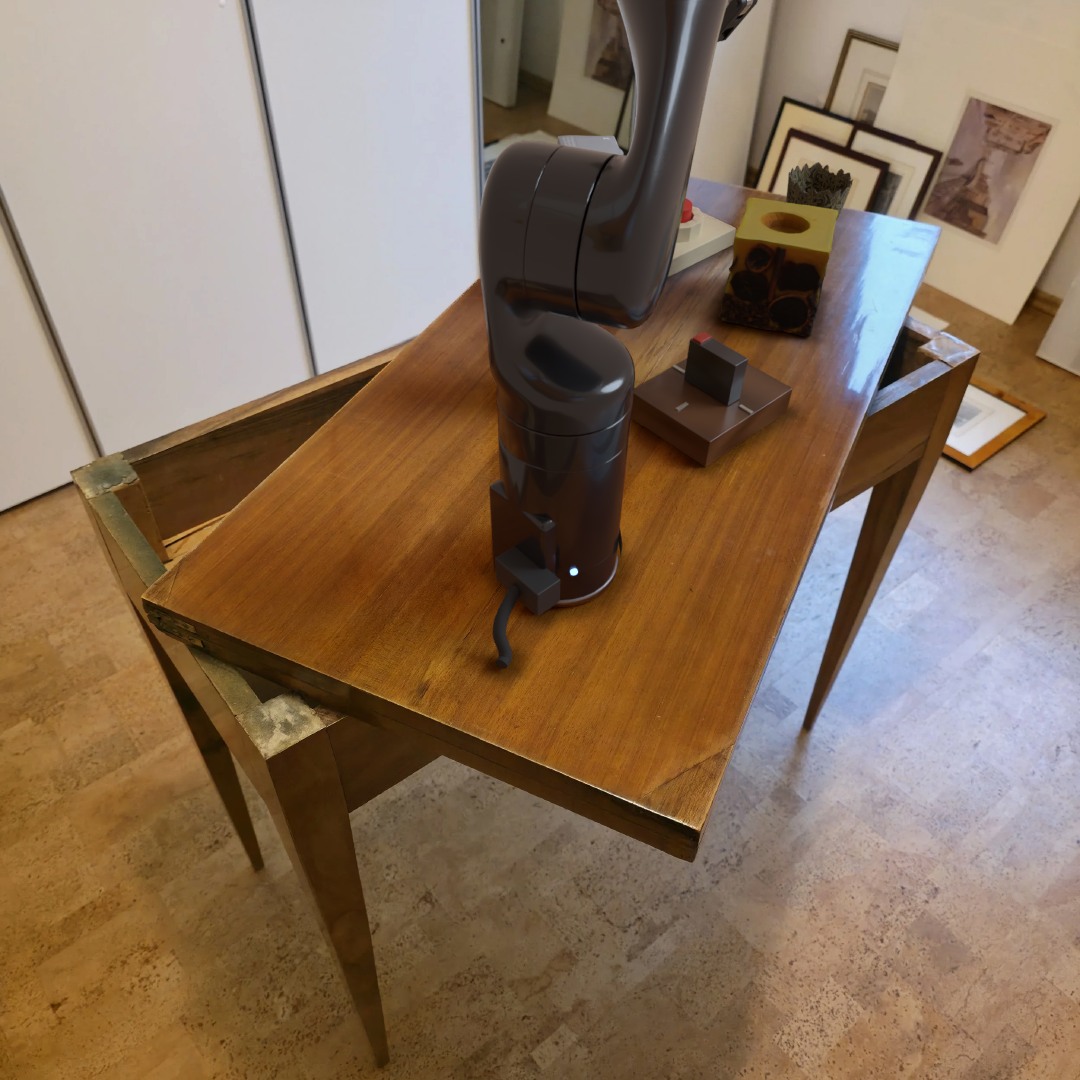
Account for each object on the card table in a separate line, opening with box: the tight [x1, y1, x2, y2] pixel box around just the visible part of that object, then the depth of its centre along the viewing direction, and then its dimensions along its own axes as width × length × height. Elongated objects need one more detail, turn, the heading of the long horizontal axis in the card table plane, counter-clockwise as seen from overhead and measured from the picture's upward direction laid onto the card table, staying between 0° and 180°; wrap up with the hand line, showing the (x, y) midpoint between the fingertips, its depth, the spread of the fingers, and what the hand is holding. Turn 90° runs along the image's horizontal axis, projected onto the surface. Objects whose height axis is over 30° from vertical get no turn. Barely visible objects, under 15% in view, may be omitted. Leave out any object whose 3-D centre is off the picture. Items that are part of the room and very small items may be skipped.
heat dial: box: [684, 331, 749, 406], centre depth 81 cm, size 6×2×5 cm, turn 41°
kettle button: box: [681, 197, 694, 223], centre depth 105 cm, size 4×4×2 cm
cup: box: [785, 161, 854, 222], centre depth 106 cm, size 8×7×8 cm
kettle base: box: [668, 205, 737, 278], centre depth 107 cm, size 12×10×4 cm
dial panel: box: [631, 357, 793, 468], centre depth 84 cm, size 12×10×3 cm
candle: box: [718, 196, 838, 338], centre depth 95 cm, size 10×10×10 cm
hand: (690, 81), depth 94 cm, fingers closed
